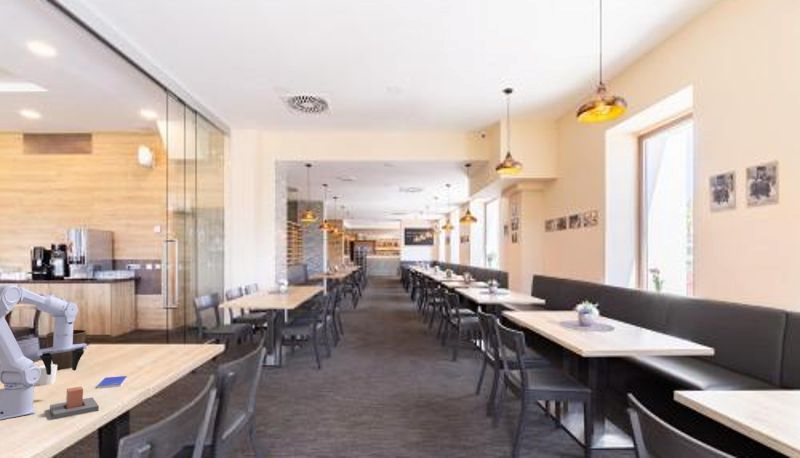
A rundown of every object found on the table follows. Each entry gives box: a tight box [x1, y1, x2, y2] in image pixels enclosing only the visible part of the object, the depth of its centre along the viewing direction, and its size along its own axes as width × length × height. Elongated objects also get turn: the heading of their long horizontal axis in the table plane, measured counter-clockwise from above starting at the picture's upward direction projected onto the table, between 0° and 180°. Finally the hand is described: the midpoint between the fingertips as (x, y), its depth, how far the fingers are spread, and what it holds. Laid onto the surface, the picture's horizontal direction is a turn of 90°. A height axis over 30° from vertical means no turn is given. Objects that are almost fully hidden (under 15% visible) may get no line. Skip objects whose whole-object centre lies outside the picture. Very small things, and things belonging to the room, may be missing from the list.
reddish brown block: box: [65, 386, 84, 409], centre depth 151 cm, size 4×4×7 cm
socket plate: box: [49, 396, 100, 420], centre depth 151 cm, size 12×12×2 cm
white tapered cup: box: [36, 363, 58, 386], centre depth 181 cm, size 7×7×7 cm
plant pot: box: [46, 329, 88, 370], centre depth 206 cm, size 15×15×16 cm
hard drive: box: [96, 375, 128, 389], centre depth 182 cm, size 2×8×12 cm
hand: (61, 372), depth 163 cm, fingers open, 7 cm apart
